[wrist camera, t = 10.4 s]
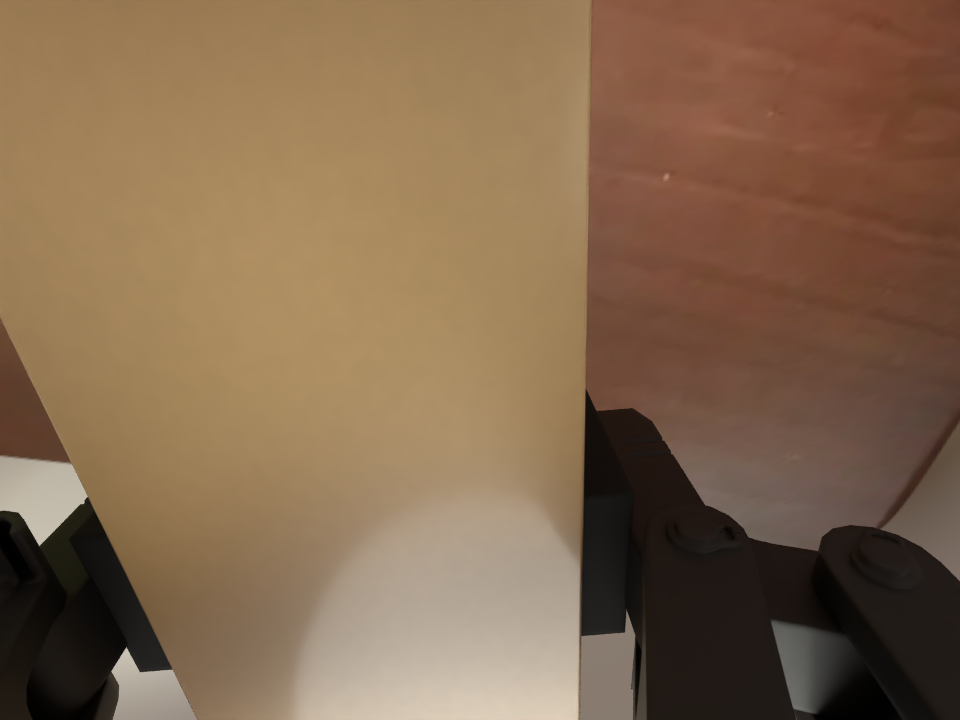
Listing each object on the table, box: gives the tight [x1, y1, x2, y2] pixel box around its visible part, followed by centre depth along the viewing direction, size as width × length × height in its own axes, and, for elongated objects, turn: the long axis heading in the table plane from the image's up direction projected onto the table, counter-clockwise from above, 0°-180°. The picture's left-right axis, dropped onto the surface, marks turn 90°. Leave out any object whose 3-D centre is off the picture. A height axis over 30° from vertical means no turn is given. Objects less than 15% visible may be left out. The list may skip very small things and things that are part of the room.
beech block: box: [0, 0, 592, 720], centre depth 10 cm, size 16×6×7 cm, turn 4°
